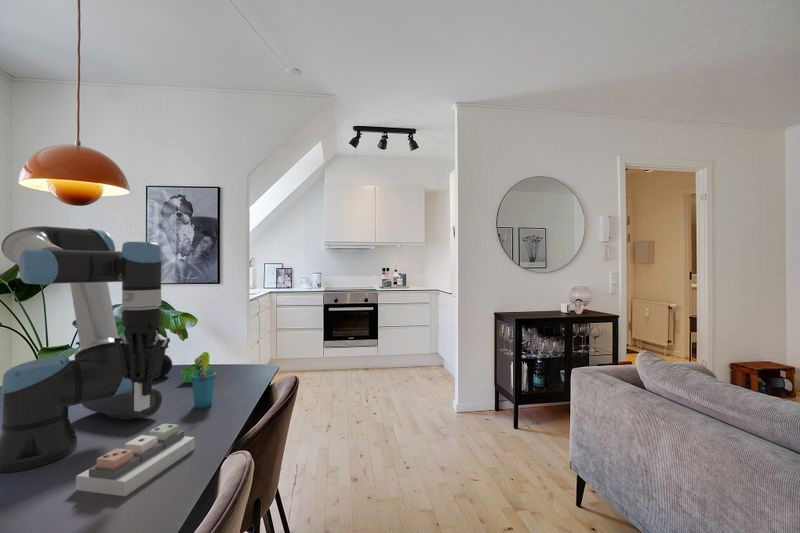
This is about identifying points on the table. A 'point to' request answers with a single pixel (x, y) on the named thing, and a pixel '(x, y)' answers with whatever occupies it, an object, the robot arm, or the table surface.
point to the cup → (203, 386)
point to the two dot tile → (164, 431)
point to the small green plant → (196, 367)
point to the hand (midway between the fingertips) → (142, 408)
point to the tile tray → (136, 468)
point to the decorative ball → (166, 366)
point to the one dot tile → (142, 444)
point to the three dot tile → (114, 459)
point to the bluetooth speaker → (125, 405)
